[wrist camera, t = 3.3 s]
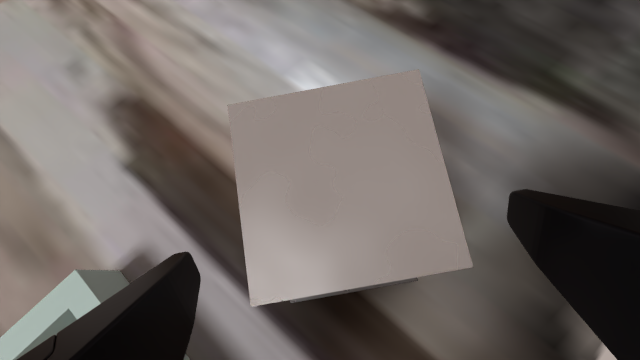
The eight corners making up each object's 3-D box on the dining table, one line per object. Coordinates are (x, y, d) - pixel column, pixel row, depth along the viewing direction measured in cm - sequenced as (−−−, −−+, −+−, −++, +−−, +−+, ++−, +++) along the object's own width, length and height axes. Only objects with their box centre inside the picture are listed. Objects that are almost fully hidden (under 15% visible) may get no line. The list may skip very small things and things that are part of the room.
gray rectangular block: (414, 280, 19) (499, 284, 9) (293, 301, 19) (233, 331, 9) (387, 164, 21) (432, 50, 10) (276, 184, 21) (208, 92, 11)
